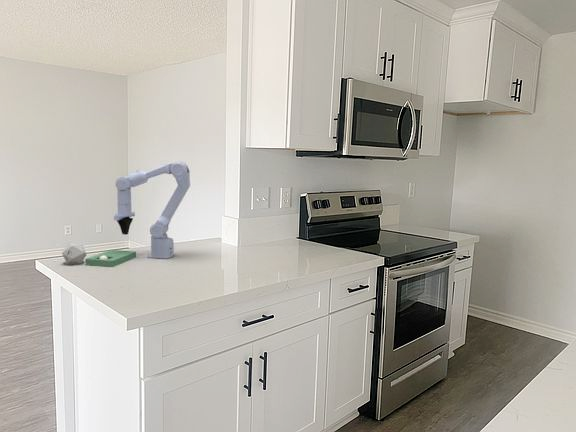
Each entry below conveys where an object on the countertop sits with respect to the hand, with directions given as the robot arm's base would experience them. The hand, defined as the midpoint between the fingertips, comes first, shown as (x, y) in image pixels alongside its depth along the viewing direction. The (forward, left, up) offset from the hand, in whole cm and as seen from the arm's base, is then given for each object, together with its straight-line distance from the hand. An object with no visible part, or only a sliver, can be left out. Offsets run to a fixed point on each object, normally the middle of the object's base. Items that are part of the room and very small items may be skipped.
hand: (125, 234), depth 204 cm
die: (+12, +19, -10) cm, 24 cm away
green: (0, +11, -10) cm, 14 cm away
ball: (0, +17, -8) cm, 19 cm away
